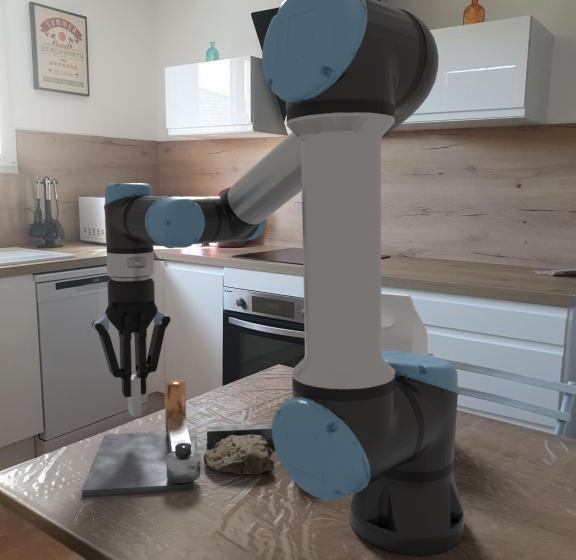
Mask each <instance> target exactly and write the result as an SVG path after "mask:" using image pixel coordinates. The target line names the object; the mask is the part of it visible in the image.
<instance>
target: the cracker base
mask: <svg viewBox="0 0 576 560" xmlns="http://www.w3.org/2000/svg"><path fill="white" fill-rule="evenodd" d="M188 433H189V437H190V442H191V444H189V443H180V444H177V445H176V446H175V455H176V456H177V457H188V456H190V455H191V446H192V450H195V451H196V441H197V431H196V430H194V429H193V430H192V429H191V430H188ZM230 435H235V436H243V435H261V436H262V437H263V438H264V439H265V440H266V441H267V443H268V446H274V442H273V437H272V423H268V424H267V423H265V424H245V425H243V424H242V425H241V424H240V425H219V426H218V425H217V426H206V448H207V449H212V448H214V447H215V445H216V443H218V442H220V441H221V439H226V438H227V437H228V436H230ZM169 453H170V446H169V439H168V434H167V433H166V431H151V432H130V433H128V432H126V433H105V434H104V435H103V437H102V440H101V442H100V444H99V447H98V449H97V453H96V454H95V458H94V459H93V461H92V464H91V466H90V469H89V471H88V473H87V477H86V479H85V481H84V483H83V486H82V488H81V498H84V497H85V498H87V497H88V498H89V497H104V496H121V495H132V494H133V495H135V494H136V495H137V494H140V495H141V494H155V493H169V492H171V493H173V492H187V491H189V492H190V491H194V489H195V480H194V481H192V482H188V483H175V482H172V481H170V480H168V478H167V455H168V454H169Z"/></svg>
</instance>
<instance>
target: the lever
mask: <svg viewBox="0 0 576 560" xmlns="http://www.w3.org/2000/svg"><path fill="white" fill-rule="evenodd" d="M186 388H187V387H186V380H184V379H178V378H176V379H174V378H173V379H169V380H166V381H165V382H164V406H165V407H164V409H165V410H164V413H165V417H164V418H165V432H166V433H167V434H168V439H169V446H170V453H169V454H168V455H167V478H168V480H170V481H172V482H175V483H188V482H192V481H194V482H195V481H196V480H198V479H199V478H200V476H201V453H200V452H199V451H197V450H196V449H195V450H192V446H191V455H190V456H188V457H177V456H176V455H175V446H176V445H177V444H180V443H189V444H191V442H190V437H189V433H188V431H189V430H188V425H187V403H186V402H187V401H186V400H187V395H186V394H187V393H186V390H187V389H186Z"/></svg>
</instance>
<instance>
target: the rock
mask: <svg viewBox="0 0 576 560" xmlns="http://www.w3.org/2000/svg"><path fill="white" fill-rule="evenodd" d="M272 455H273V450H272V448H270V447H269V445H268V443H267V441H266V440H265V439H264V438H263V437H262V436H261V435H243V436H235V435H230V436H228V437H227V438H226V439H221V441H220V442H218V443H216V445H215V447H214V448H209V449H207V450H205V453H203V457H202V458H203V462H204V464H205V465H206V466H209V467H210V468H211V469H213V470H215V471H218V472H222V473H228V472H229V473H230V472H233V473H234V474H236V475H253V476H254V475H257V474H262V473H263V472H269V471H273V470H274V469H275V465H274V463H273V461H272V460H271V458H272Z"/></svg>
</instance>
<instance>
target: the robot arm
mask: <svg viewBox="0 0 576 560" xmlns="http://www.w3.org/2000/svg"><path fill="white" fill-rule="evenodd" d="M261 55H262V56H261V58H262V59H261V65H262V72H263V76H264V79H265V83H266V84H267V85H268V86H270V89H271V91H272V93H273V94H275V95H276V96H277V97H278V98H279V99H281V100H282V101H284V102H285V113H286V116H285V117H286V127H287V128H288V130H290V131H291V132H290V133H289V134H288V135H287V136H286V137H284V138H283V139H282V140H281V141H280V142H279V143H277V145H276V146H275V147H272V149H271V150H270V151H269V152H268V153H267V154H266V155H265V156H263V157H262V158H260V160H259V161H258V162H257V163H255V165H253V166H252V167H251V168H250V169H249V170H248V171H247V172H246V173H245V174H244V175H242V176H241V177H240V178H239V179H238V180H236V181H235V182H234V183H233V184H232V185H231V186H230V187H228V188H227V190H225V191H224V192H223V193H222V194H220V195H218V196H217V195H215V196H210V195H209V196H206V195H205V196H186V195H185V196H184V195H183V196H182V195H163V196H159V195H158V196H154V195H153V188H152V186H151V185H150V184H149V183H140V182H139V183H137V182H136V183H134V182H133V183H131V182H127V183H124V182H123V183H121V182H118V183H117V182H110V183H108V184H107V185H106V186H105V190H104V205H103V210H104V228H105V243H106V245H105V246H106V275H107V276H108V277H110V278H109V279H108V280H107V282H106V283H107V308H106V310H105V312H104V314H105V315H104V316H103V317H102V316H101V317H100V319H98V320H93V321H92V323H91V326H92V328H93V329H94V330H95V331H96V333H97V334H98V337H99V341H100V343H101V346H102V350H103V353H104V356H105V360H106V362H107V363H106V364H107V367H108V369H109V373H110V374H111V375H112V376H113V377H114V378H116V379H117V378H120V379H121V394H122V396H123V397H124V398H125V399H126V398H127V409H128V410H127V412H128V414H129V415H130V416H132V418H134V417H139V416H142V395H146V393H147V378H148V377H149V374H151V373H155V372H156V371H157V369H158V365H159V361H160V356H161V351H162V346H163V341H164V338H165V332H166V329H167V327H168V325H169V324H170V322H171V317H170V316H169V315H167V314H164V313H161V312H159V311H158V310H159V309H158V306H157V305H156V302H155V299H156V298H155V297H156V296H155V279H154V278H153V277H151V276H153V275H154V274H155V268H154V266H155V263H154V262H155V260H154V259H155V258H154V255H155V254H154V245H155V246H159V247H164V248H167V249H178V248H179V249H180V248H181V249H184V248H189V247H191V246H192V245H203V244H204V245H205V244H214V243H215V244H216V243H233V242H234V243H243V242H246V241H251V240H254V239H257V238H258V237H260V236H261V235H262V234H263V231H264V229H265V227H266V224H267V218H268V217H269V216H271V215H273V214H274V213H275V212H277V210H279V209H280V208H282V207H283V206H284V205H285V204H287V203H288V202H289V201H291V200H292V199H293V198H294V197H296V196H297V195H299V193H301V209H302V210H301V211H302V214H301V216H302V219H301V220H302V260H303V264H302V266H303V267H302V268H303V270H302V271H303V308H304V309H303V316H304V319H303V320H304V322H303V324H304V357H303V358H302V359H301V360H300V361H299V362H298V363H297V364H296V366H295V367H294V368H293V369H292V370H291V371H292V372H291V376H292V377H291V379H292V388H291V389H292V391H291V392H292V395H291V396H292V398H290V399H286V400H285V401H284V402H283V403H282V404H280V406H279V409H278V410H276V411H275V412H274V415H273V418H272V423H271V424H272V437H273V442H274V445H273V447H274V450H275V453H276V456H277V457H278V460H279V462H280V464H281V465H282V468H283V469H284V470H285V471H286V472H287V473H288V475H289V477H290V479H291V480H292V481H293V482H294V483H295V484H296V485H297V486H298V487H299V488H301V489H302V490H303V491H304V492H305V493H308V495H311V496H312V497H315V498H318V499H321V500H327V501H333V500H340V499H343V498H345V497H347V496H349V495H351V496H350V501H349V513H348V514H349V515H348V516H349V522H350V525H351V527H352V529H353V530H354V532H355V533H356V534H357V535H358V536H359V537H361V539H363V540H364V541H366V542H368V543H369V544H371V545H374V546H375V547H378V548H380V549H382V550H383V549H384V550H387V551H389V552H392V553H397V554H403V555H405V554H406V555H412V556H413V555H415V556H422V555H423V556H424V555H433V554H438V553H442V552H445V551H447V550H450V549H451V548H454V547H455V546H456V545H458V543H459V542H460V541H461V540H462V538H463V536H464V530H465V513H464V508H463V504H462V501H461V498H460V493H459V491H458V486H457V482H456V479H455V476H454V458H455V446H456V445H455V442H456V429H457V428H456V427H457V412H458V395H459V393H460V391H459V389H458V385H459V384H458V380H459V379H458V371H457V368H456V367H455V366H454V365H453V364H452V363H450V362H449V361H447V360H444V359H442V358H439V357H435V356H431V355H423V354H417V353H410V352H401V351H382V347H381V292H382V180H381V179H382V175H381V174H382V171H381V169H382V166H381V165H382V162H381V161H382V157H381V155H382V152H381V149H382V148H381V143H382V142H381V140H382V139H384V138H385V137H386V136H388V135H389V134H390V133H391V132H393V131H394V130H395V129H397V128H398V127H399V126H401V125H402V124H403V123H404V122H406V120H408V119H409V118H410V117H411V116H413V114H414V113H415V112H416V111H418V109H419V108H421V106H422V105H423V104H424V102H425V101H426V100H427V98H428V97H429V95H430V93H431V91H432V90H433V87H434V85H435V83H436V80H437V76H438V72H439V71H438V70H439V58H440V57H439V51H438V47H437V43H436V40H435V37H434V35H433V34H432V32H431V29H430V28H429V27H428V26H427V24H426V23H425V22H424V21H423V20H422V19H420V17H418V16H417V15H416V14H413V12H410V11H408V10H405V9H402V8H398V7H396V6H393V5H390V4H389V3H388V4H387V3H386V2H383V1H381V0H284V1H283V2H282V3H281V5H280V6H279V8H278V10H277V13H276V14H275V15H273V16H272V18H271V21H270V23H269V25H268V28H267V31H266V34H265V37H264V41H263V46H262V54H261ZM152 322H154V326H153V329H152V334H151V338H150V343H149V348H148V352H147V333H148V331H147V329H148V328H149V326H150V325H151V323H152ZM110 323H111V324H112V326H113V327H114V328H115V329H116V330H117V331H118V332H117V333H118V338H119V362H118V359H117V355H116V352H115V348H114V346H113V342H112V337H111V335H110V333H109V330H110V325H109V324H110ZM132 334H133V336H134V359H135V361H134V366H135V373H136V374H133V373H132V370H133V369H132V342H131V341H132V337H133V336H132Z"/></svg>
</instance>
